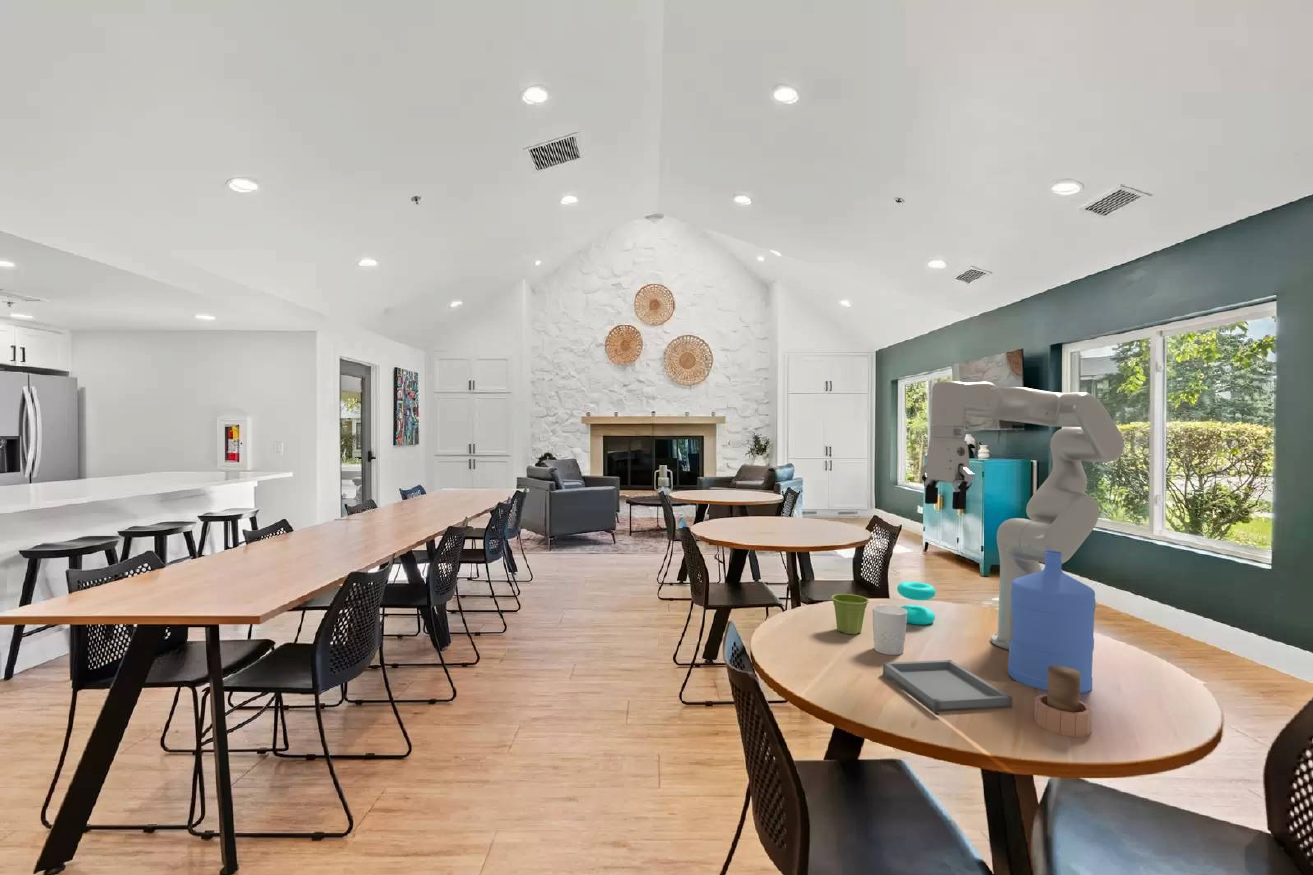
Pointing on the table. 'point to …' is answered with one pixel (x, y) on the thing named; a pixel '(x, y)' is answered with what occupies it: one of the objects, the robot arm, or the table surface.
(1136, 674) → the table surface
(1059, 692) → the walnut cylinder
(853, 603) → the plant pot
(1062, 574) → the water jug
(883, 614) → the white cup
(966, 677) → the slate tray
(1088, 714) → the terracotta cup
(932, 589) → the donuts
